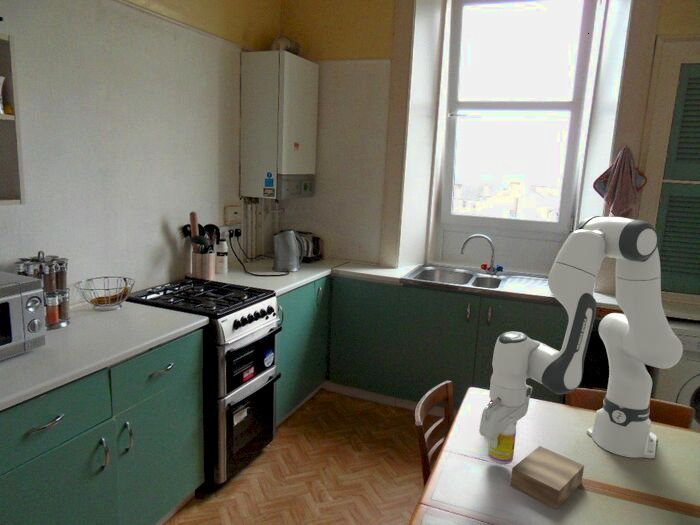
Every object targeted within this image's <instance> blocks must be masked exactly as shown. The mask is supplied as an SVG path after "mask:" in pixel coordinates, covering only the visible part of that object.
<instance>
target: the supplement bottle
mask: <svg viewBox="0 0 700 525" xmlns="http://www.w3.org/2000/svg"><path fill="white" fill-rule="evenodd" d="M513 421H514V416H512V417H511V418H509V419H508V424H509V426H508V428H507V429H506V430H504V431H503V432H502V433H500V434H499V436H498V437H497V438H498V440H499V446H498V447H497V448H494V447H491V445H490V442H491V440H490V439H489V438H488V448H487V457H488V458H489V460H490V461H492V462H493V463H495V464H497V465H509V464H511V463H512V462H513V461H514V455H515V454H514V453H515V445H516V444H515V443H516V435H517V434H516V433H517V427H516V426H517V425H516V426H515V425H514V424H512V422H513Z"/></svg>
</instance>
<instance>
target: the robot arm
mask: <svg viewBox="0 0 700 525" xmlns="http://www.w3.org/2000/svg"><path fill="white" fill-rule="evenodd" d="M658 244H659V235H658V232H657V230H656V228H655V226H654V225H652V224H651V223H649V222H647V221H645V220H642V219H641V220H640V219H632V218H628V217H623V216H599V215H596V216H595V215H594V216H589V217H586V218H584V219H582V220H581V222H580V223H578V225H577V226H576V228H575V230H574V231H572V232H571V233H570V234H569V235H568V237H567V239H566V240H565V241H564V242H563V244H562V246H561V247H560V249H559V251H558V253H557V254H556V257H555V259H554V262H553V264H552V266H551V269H550V271H549V274H548V277H547V278H548V280H547V285H548V288H549V291H550V292H551V294H552V296H553V297H554V298H555V299H556V300H557V301H558V302H559V303H560V304H561V306H563V307H564V309H565V311H566V313H567V316H568V324H567V327H566V330H565V334H564V338H563V342H562V346H561V349H560V350H558V349H555V348H554V347H551V346H550V345H547V344H546V343H543V342H541V341H539V340H535V339H532V338H530V337H529V336H528V335H527V334H526V333H524V332H521V331H515V330H513V331H511V330H510V331H506V332H503V333H501V334H500V335H499V336H498V337H497V339H496V342H495V345H494V350H493V356H492V363H491V366H492V370H493V371H492V374H493V375H492V374H491V376H492V377H491V376H490V378H491V382H490V385H489V392H488V393H489V395H488V396H489V398H490V400H492V401H493V402H490V401H489V402H490V403H489V402H488V404H487V405H488V406H487V405H486V406H485V407H484V409H483V410H482V413H481V417H480V423H479V431H478V432H479V434H480V435H481V436H482V437H484V438H487V439H488V440H489V439H490V440H491V442H490V445H491V447H494V448H497V447H498V446H499V440H498V438H497V437H498V436H499V434H500V433H502V432H503V431H504V430H506V429H507V428H508V426H509V424H508V419H509V418H511V417H512V416H514V421H513V422H512V424H514V425H515V426H517V424H518V421H519V420H521V419H523V417H525V416H526V415H527V412H528V410H529V406H530V405H529V404H530V399H531V395H532V393H533V386H531V385H528V384H527V379H532V380H534V381H536V382H538V383H539V384H542V386H543V387H545V388H547V389H548V390H549V391H551V392H552V393H553V394H555V395H560V396H561V395H566V394H568V393H569V394H570V393H572V392H573V391H575V390H576V389H578V387H580V385H581V383H582V380H583V375H584V365H585V364H584V363H585V358H586V354H587V352H588V351H587V350H588V346H589V342H590V338H591V334H592V331H593V326H594V323H595V320H596V313H597V300H596V298H594V287H595V283H596V281H597V280H596V279H597V278H598V275H599V273H600V269H601V266H602V263H603V261H604V259H605V258H609V259H613V258H614V259H616V260H615V300H616V303H617V305H618V307H619V308H620V309H621V310H622V312H623V313H621V312H620V313H619V312H612V313H611V312H610V313H609V314H606V315H605V316H604V317H603V318H602V319H601V321H600V322H599V325H598V334H599V337H600V339H601V341H602V342H603V344H604V346H605V349H606V354H607V359H608V366H609V368H608V370H609V372H608V373H609V375H608V376H609V377H608V381H607V382H608V383H607V390H606V394H605V396H604V398H603V401H602V402H603V404H602V408H600V409H597V410H596V414H595V418H594V422H593V426H591V427H589V428H588V429H587V430H586V434H587V435H588V436H590V437H591V438H592V439H593V441H594V442H595V443H596V445H597V446H599V447H600V448H602V449H603V450H606V451H607V452H609V453H613V454H615V455H618V456H622V457H628V458H634V459H635V458H636V459H637V458H645V459H652V458H653V459H655V458H656V448H657V442H656V441H658V439H657V435H656V433H653V432H652V430H651V429H652V428H651V427H652V426H651V425H652V420H651V419H650V411H651V410H650V407H651V406H650V405H651V401H650V400H651V393H652V387H653V379H652V377H651V375H650V374H649V372H648V370H647V367H646V365H647V366H650V367H654V368H657V369H664V370H666V369H670V368H672V367H674V366H675V365H677V364H678V362H679V361H680V360H681V358H682V356H683V352H684V346H683V344H682V340H680V338H679V337H678V336H677V335H676V334H675V332H674V331H673V329H672V328H671V326H670V324H669V321H668V318H667V317H666V314H665V310H664V308H663V303H662V291H661V290H662V288H661V287H662V285H661V283H662V281H661V280H662V279H661V278H662V276H661V275H662V274H661V273H662V271H661V260H660V254H659V249H658Z"/></svg>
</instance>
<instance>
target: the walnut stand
mask: <svg viewBox="0 0 700 525" xmlns="http://www.w3.org/2000/svg"><path fill="white" fill-rule="evenodd" d="M584 468H585V465H584V464H582V463H580V462H577V461H575V460H573V459H570V458H568V457H566V456H564V455H562V454H560V453H557V452H554V451H553V450H550V449H548V448H546V447H543V446H541V445H539V446H538V447H537V448H535V449H534V450H533V451H532V452H530V453H529V454H528V455H527V456H525V457H524V458H523V459H521V461H519V462H518V463H517V464H516V465H514V466H513V467H512V469H511V474H510V475H511V476H510V482H509V483H510V484H509V486H510V487H512V488H514V489H516V490H518V491H520V492H522V493H524V495H525V494H526V495H528V496H529V497H531V498H533V499H535V500H537V501H539V502H540V503H543V504H545V505H547V506H549V507H550V508H553V509H554V510H558V508H560V506H562V504H563V503H564V502H565V501H566V500H567V499H568V498H569V497H570V496H571V494H573V493H574V491H575V490H576V489H577V488H579V486H580V485H581V484H582V482H583V476H584Z"/></svg>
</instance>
